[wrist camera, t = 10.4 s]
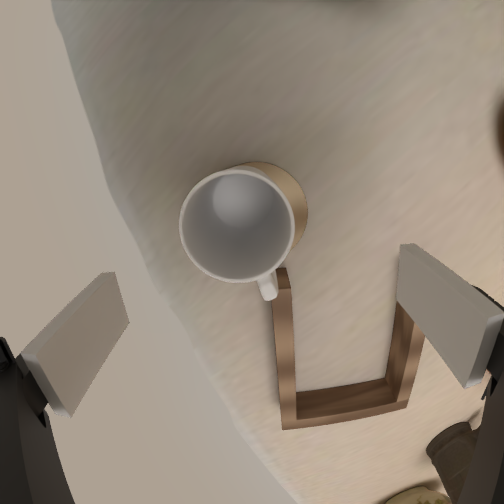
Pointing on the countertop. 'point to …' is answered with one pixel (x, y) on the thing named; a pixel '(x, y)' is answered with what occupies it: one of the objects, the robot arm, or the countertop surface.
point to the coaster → (287, 194)
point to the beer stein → (453, 456)
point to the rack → (350, 396)
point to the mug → (238, 227)
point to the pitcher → (420, 497)
